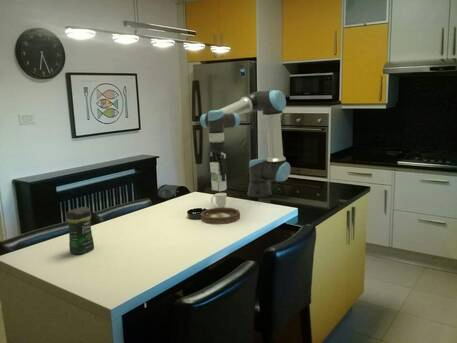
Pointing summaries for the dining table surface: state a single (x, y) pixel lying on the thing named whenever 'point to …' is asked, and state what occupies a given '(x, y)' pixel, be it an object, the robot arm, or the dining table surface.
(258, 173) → the robot arm
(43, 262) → the dining table surface
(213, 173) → the syrup box
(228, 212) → the round tray
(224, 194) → the cup
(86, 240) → the coffee jar
